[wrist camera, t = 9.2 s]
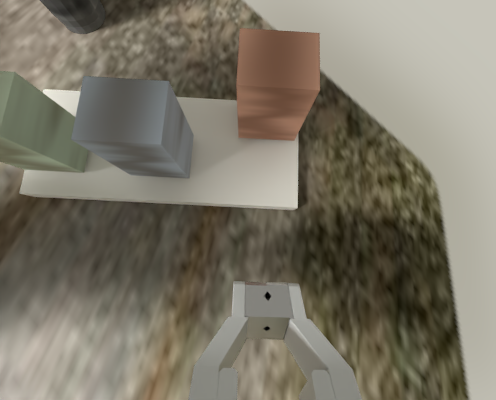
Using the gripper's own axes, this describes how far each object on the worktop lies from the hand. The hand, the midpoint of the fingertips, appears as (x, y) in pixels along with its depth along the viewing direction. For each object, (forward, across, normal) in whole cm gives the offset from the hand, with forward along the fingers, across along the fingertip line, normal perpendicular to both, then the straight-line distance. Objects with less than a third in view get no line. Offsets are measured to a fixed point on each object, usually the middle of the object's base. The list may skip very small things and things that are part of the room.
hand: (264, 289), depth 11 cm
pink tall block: (+15, -1, -4) cm, 15 cm away
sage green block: (+12, +17, -1) cm, 21 cm away
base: (+14, +8, 0) cm, 17 cm away
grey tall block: (+12, +8, -1) cm, 15 cm away
